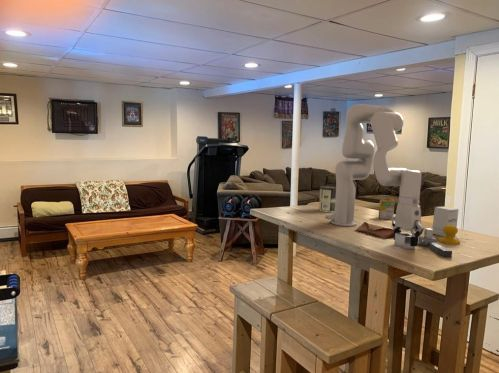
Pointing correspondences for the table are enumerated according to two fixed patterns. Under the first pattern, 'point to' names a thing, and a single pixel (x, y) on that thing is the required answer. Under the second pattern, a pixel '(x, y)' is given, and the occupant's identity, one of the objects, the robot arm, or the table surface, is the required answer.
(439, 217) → the supplement box
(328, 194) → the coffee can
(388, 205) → the crayon box
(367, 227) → the sunglasses case
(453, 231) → the doorknob
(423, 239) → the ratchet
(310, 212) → the table surface
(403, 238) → the square hollow tube
